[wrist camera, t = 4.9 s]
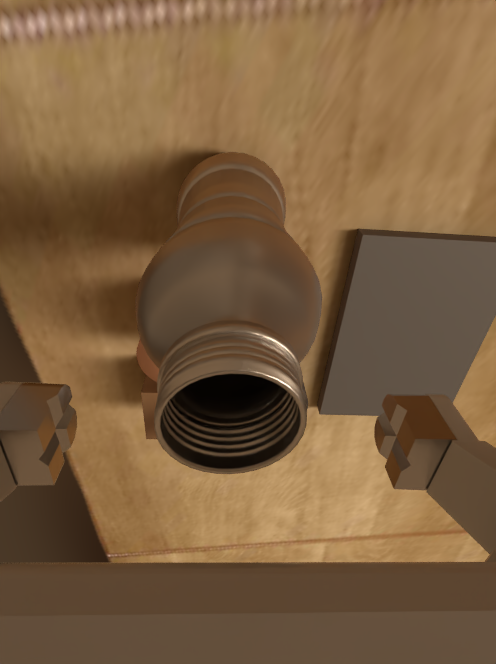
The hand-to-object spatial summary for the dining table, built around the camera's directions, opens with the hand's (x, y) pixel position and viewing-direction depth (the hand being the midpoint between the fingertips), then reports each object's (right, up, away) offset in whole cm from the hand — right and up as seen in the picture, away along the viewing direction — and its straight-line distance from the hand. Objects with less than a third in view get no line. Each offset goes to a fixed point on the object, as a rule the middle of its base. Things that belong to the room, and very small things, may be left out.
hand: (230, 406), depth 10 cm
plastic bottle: (-1, +11, +16) cm, 19 cm away
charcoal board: (+14, +2, +22) cm, 26 cm away
